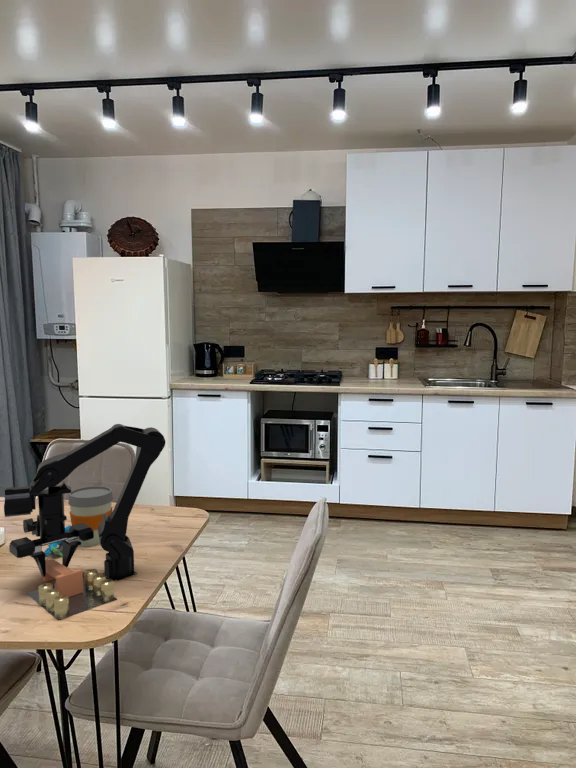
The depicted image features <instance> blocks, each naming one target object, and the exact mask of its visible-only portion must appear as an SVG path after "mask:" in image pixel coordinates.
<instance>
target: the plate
mask: <svg viewBox="0 0 576 768" xmlns="http://www.w3.org/2000/svg"><path fill="white" fill-rule="evenodd" d="M104 574H105V573H104ZM104 574H103V573H100V574H99V572H98V570H97V569H95V568H93V569H92V568H91V569H87V570H85V571H84V575H83V591H84V592H83V593H80V594H76V595H73V596H70V597H68V596H67V595H60V590H59V589H54V583H52V582H45V583H41V584H39V585H38V587H37V588H38V589H36V590H33V591H29V592H26V593H25V594H26V595H28V597H30V599H32V600H33V601H35V602H36V603H37V604H38V605H39V606H40V607H42V609H44V610H45V611H46V612H47V613H49V614H50V615H51V616H52V617H53V618H54V619H55V620H57V621H58V622H59V621H61V620H64V619H68V618H70V617H73V616H76V615H78V614H81V613H84V612H87V611H89V610H92V609H95V608H98V607H101V606H103V605H106V604H109V603H113V602H115V601H118V598H117V597H115V581H113V580H112V579H109V578H108V579H106V578H107V577H106V576H105V575H104Z"/></svg>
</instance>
